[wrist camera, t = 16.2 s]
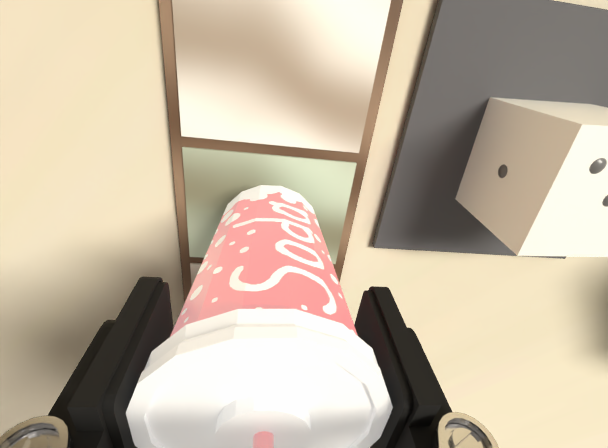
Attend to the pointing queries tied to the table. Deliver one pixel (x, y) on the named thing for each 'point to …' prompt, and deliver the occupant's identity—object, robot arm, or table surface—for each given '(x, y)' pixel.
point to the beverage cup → (262, 344)
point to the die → (541, 177)
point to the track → (272, 107)
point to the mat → (482, 107)
